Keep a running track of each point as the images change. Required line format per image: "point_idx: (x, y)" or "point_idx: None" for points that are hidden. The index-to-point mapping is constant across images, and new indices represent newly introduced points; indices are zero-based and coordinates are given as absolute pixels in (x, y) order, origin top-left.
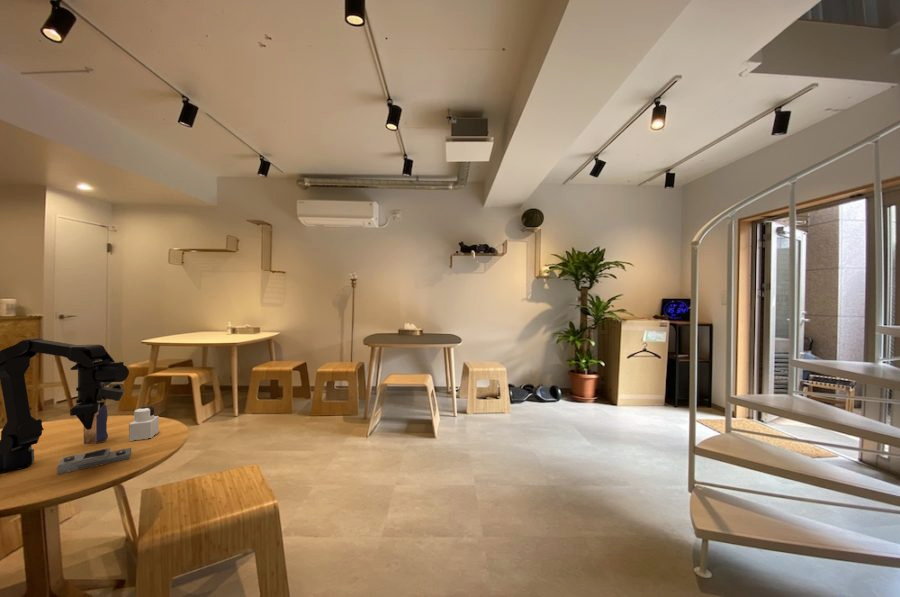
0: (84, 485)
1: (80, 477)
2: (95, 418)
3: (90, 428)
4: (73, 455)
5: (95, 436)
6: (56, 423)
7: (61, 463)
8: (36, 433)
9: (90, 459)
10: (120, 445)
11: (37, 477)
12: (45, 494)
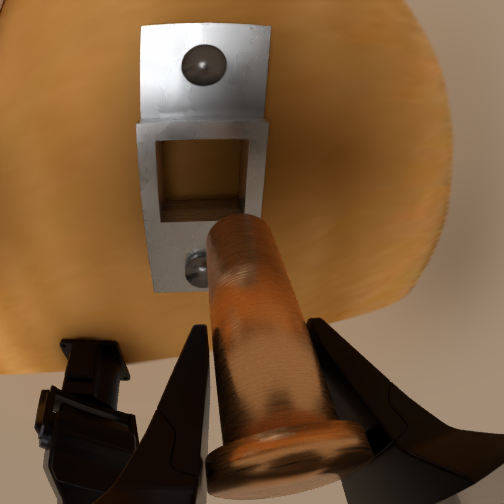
0: (428, 177)
1: (348, 192)
2: (310, 384)
3: (321, 323)
4: (155, 263)
5: (265, 240)
6: None
7: None
8: (77, 431)
9: (262, 189)
10: (12, 107)
11: None
12: (400, 255)
